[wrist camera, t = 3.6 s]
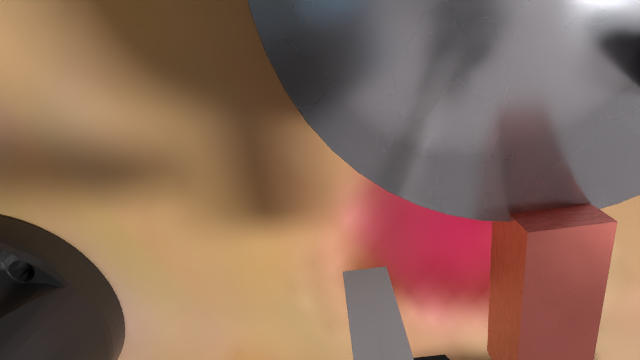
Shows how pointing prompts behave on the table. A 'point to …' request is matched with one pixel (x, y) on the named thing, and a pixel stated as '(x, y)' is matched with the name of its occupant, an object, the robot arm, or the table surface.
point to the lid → (485, 133)
